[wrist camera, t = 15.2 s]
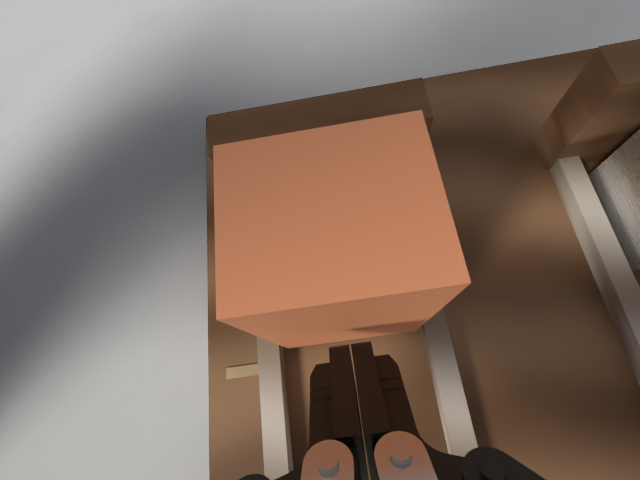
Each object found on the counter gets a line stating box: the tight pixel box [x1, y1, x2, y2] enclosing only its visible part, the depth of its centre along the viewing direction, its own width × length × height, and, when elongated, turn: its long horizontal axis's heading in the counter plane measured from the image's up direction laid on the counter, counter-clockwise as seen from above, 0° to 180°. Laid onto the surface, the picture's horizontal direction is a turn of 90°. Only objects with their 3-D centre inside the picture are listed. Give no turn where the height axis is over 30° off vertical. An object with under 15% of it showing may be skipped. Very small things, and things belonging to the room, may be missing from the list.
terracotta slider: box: [213, 110, 471, 349], centre depth 14 cm, size 5×6×9 cm
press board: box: [206, 39, 640, 480], centre depth 15 cm, size 26×30×7 cm
